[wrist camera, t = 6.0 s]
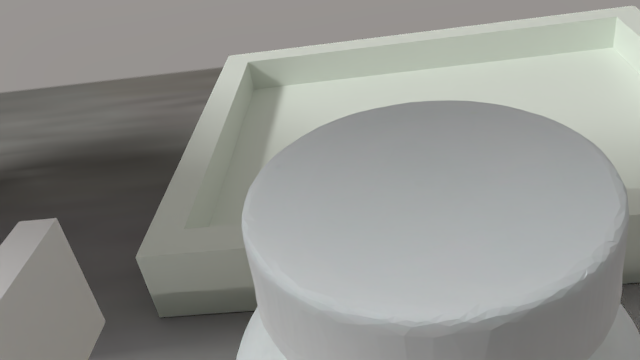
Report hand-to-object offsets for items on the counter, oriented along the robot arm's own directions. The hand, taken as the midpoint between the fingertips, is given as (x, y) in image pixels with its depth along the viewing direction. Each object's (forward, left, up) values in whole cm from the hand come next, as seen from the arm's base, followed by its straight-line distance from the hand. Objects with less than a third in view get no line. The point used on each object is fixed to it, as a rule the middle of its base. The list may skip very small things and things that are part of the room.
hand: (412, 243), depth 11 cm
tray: (+2, +13, -6) cm, 14 cm away
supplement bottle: (0, -3, -6) cm, 7 cm away
